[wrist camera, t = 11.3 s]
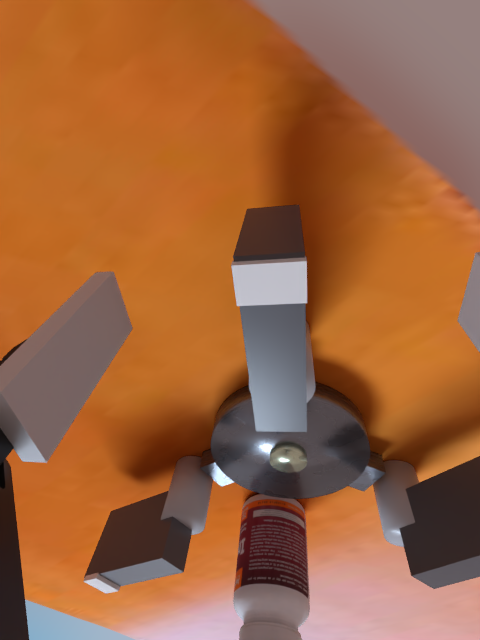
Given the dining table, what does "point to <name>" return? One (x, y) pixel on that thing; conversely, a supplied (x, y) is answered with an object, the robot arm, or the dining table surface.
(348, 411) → the base
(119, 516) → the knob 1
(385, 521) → the dark bar with dome
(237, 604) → the pill bottle
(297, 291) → the grey bar white cap
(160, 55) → the dining table surface
